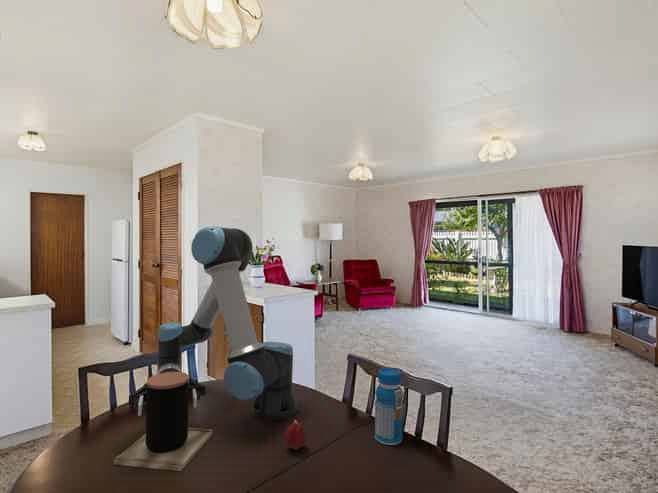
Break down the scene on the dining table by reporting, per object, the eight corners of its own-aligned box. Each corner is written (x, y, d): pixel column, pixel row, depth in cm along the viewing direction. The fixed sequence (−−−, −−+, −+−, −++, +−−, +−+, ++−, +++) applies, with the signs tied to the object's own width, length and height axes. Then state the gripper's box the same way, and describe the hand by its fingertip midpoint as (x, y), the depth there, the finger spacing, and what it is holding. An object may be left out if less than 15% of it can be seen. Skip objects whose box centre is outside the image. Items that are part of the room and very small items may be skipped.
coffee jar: (194, 434, 104) (195, 372, 104) (175, 456, 94) (176, 386, 94) (159, 432, 105) (160, 370, 105) (136, 453, 95) (138, 384, 95)
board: (212, 434, 107) (212, 429, 107) (180, 471, 89) (181, 465, 89) (155, 429, 109) (156, 424, 109) (113, 464, 91) (114, 458, 91)
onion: (309, 446, 102) (309, 418, 102) (300, 457, 97) (301, 427, 97) (290, 442, 104) (291, 414, 104) (281, 452, 98) (282, 423, 99)
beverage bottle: (376, 446, 103) (377, 376, 103) (372, 431, 111) (373, 366, 111) (405, 446, 103) (407, 376, 103) (399, 431, 111) (401, 366, 112)
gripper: (209, 385, 121) (216, 413, 102) (124, 396, 111) (114, 428, 92) (209, 363, 121) (217, 386, 102) (125, 372, 111) (115, 399, 92)
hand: (168, 406), depth 97 cm, fingers open, 13 cm apart
